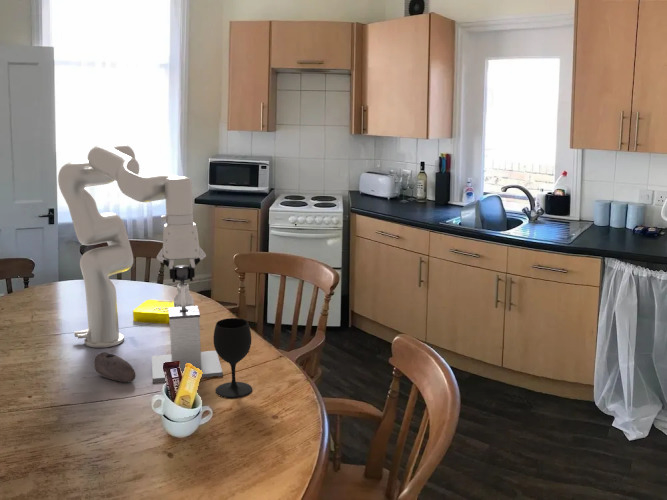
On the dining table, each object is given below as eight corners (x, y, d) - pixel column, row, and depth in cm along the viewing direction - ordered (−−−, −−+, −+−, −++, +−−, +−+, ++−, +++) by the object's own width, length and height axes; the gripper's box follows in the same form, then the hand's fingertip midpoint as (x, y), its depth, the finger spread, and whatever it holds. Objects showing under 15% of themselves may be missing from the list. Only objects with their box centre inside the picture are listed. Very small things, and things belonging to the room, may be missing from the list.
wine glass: (216, 383, 211) (214, 317, 207) (252, 382, 212) (251, 316, 208) (213, 399, 201) (211, 329, 197) (252, 397, 202) (250, 329, 198)
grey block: (171, 370, 217) (169, 316, 213) (170, 356, 228) (167, 304, 224) (202, 368, 219) (199, 314, 215) (199, 353, 230) (197, 302, 226)
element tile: (185, 312, 276) (185, 299, 275) (171, 325, 261) (171, 312, 260) (147, 310, 278) (147, 297, 277) (131, 322, 263) (130, 310, 262)
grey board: (152, 382, 212) (152, 378, 212) (151, 359, 229) (151, 356, 228) (222, 376, 217) (222, 372, 216) (216, 354, 234) (216, 350, 233)
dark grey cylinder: (177, 333, 217) (174, 269, 213) (176, 328, 221) (173, 265, 217) (192, 332, 218) (190, 268, 214) (191, 327, 223) (189, 264, 218)
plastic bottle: (191, 347, 239) (189, 288, 234) (171, 346, 240) (169, 287, 236) (198, 340, 245) (196, 283, 240) (179, 339, 246) (177, 281, 242)
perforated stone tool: (141, 382, 212) (140, 359, 210) (127, 388, 208) (126, 365, 206) (107, 370, 220) (106, 348, 219) (93, 376, 216) (91, 354, 214)
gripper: (149, 223, 206) (153, 285, 211) (210, 220, 211) (212, 282, 215) (149, 218, 214) (152, 278, 218) (208, 215, 218) (210, 275, 222)
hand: (182, 279), depth 216 cm, fingers closed on dark grey cylinder, 4 cm apart
